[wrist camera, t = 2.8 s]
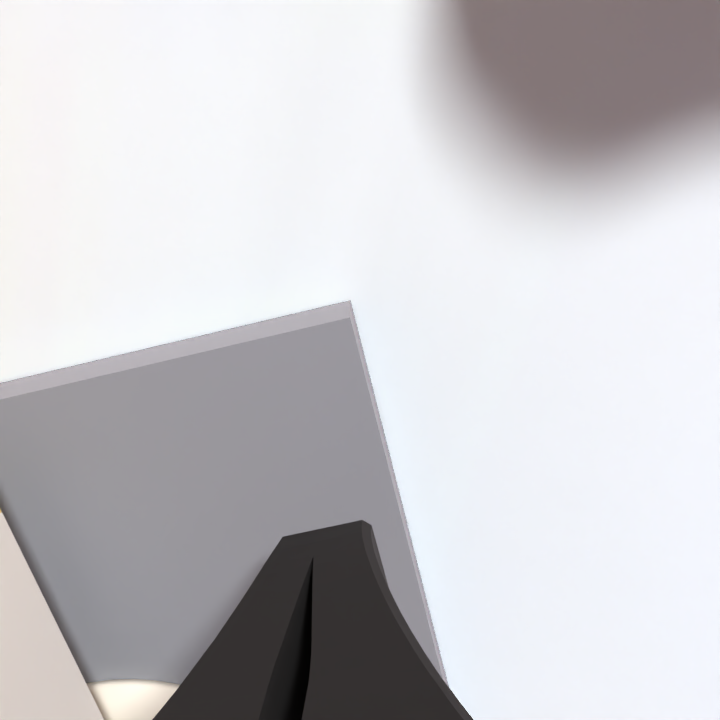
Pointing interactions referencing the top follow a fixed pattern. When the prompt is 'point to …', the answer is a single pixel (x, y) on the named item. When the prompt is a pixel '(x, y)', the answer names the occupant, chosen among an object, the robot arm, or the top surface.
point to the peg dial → (34, 649)
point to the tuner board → (194, 490)
